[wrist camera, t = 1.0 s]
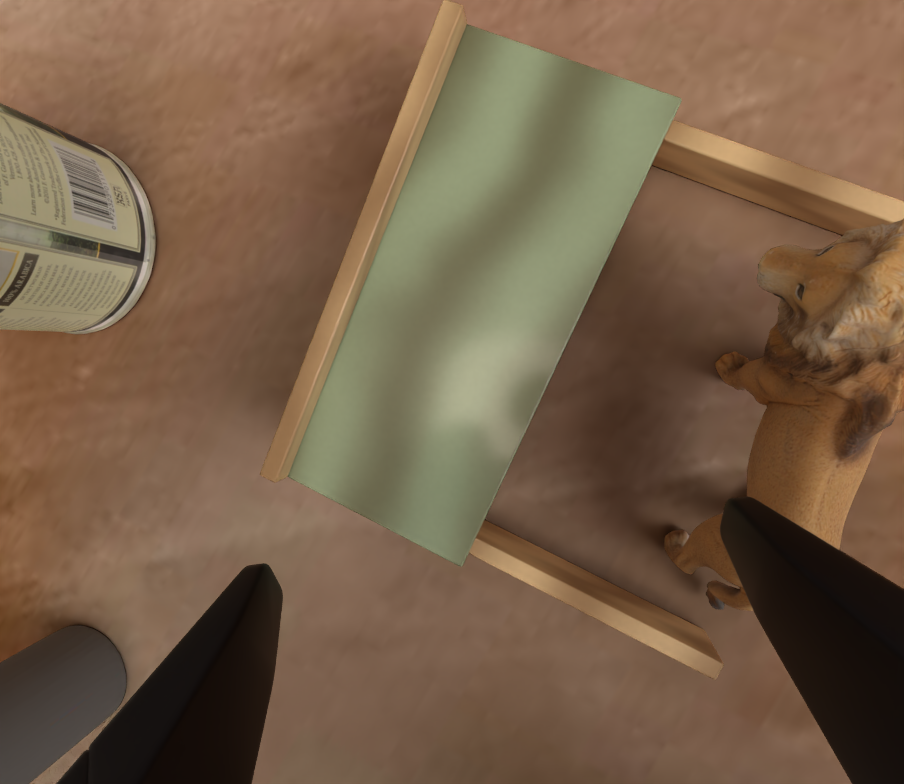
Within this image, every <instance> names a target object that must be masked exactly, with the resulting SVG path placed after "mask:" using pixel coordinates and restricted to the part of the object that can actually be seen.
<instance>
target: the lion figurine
mask: <svg viewBox="0 0 904 784" xmlns="http://www.w3.org/2000/svg"><path fill="white" fill-rule="evenodd" d="M758 269H759V272H758V275H757V282H758V284H759V286H760V287H761V288H763V289H764V290H766V291H768V292H771V293H773V294H774V295H776V296H778V297H780V298H781V301H780V303H779V306H778V310H779V315H778V322H777V324H776V325H775V326H774V327H773V328H772V329H771V330H770V332H769V338H768V341H767V344H766V347H765V353H764V357H762V358H759V359H756V360H753V361H750V362H749V360H748V359H747V357H745V356H742V355H740V354H739V353H737V352H732V353H730V354H725V355H723V356H722V357H721V358H720V359H719V360H718V361H717V362H716V363H715V366H716V369H717V372H718V374H719V375H720V377H721V378H722V379H723V381H724V382H725V383H727V384H728V385H731V386H733V387H734V388H736V389H737V390H745V389H746V390H747V391H749V392H750V393H751V394H752V395H753V396H754V397H755V399H756V401H758V402H759V403H761V404H764V405H767V409H766V411H765V413H764V415H763V417H762V419H761V422H760V424H759V427H758V429H757V432H756V435H755V439H754V443H753V447H752V450H751V453H750V458H749V463H748V470H747V496H749V497H752V498H754V499H756V500H758V501H760V502H761V503H763V504H764V505H766V506H768V507H769V508H771V509H773V510H774V511H776V512H778V513H779V514H781V515H783V516H784V517H786V518H788V519H789V520H791V521H792V522H794V523H796V524H797V525H799V526H801V527H802V528H804V529H806V530H807V531H809V532H811V533H812V534H814V535H816V536H817V537H819V538H821V539H822V540H824V541H825V542H827V543H829V544H830V545H832V546H834V547H835V548H837V549H839V550H840V543H841V536H842V531H843V526H844V522H845V519H846V516H847V513H848V511H849V509H850V506H851V504H852V501H853V499H854V496H855V494H856V492H857V489H858V487H859V485H860V483H861V481H862V478H863V476H864V474H865V471H866V469H867V467H868V464H869V462H870V459H871V457H872V454H873V451H874V448H875V446H876V444H877V442H878V440H879V437H880V435H881V432H882V430H883V429H885V428H886V427H888V426H890V425H891V424H892V422H893V421H894V418H895V416H896V413H898V412H901V411H904V219H902V220H900V221H897V222H894V223H891V224H888V225H885V224H879V225H877V226H870V227H865V228H861V229H854V230H848V231H846V232H845V233H844V235H843V236H842V237H841V238H840V239H839V240H837V241H836V242H834V243H832V244H830V245H829V246H827V247H825V248H823V249H818V250H811V249H805V248H802V247H799V246H796V245H782V246H779V247H775V248H772V249H770V250H769V251H768V252H767V253H766V254H765V255H764V256H763V257H762V258H761V260H760V262H759V264H758ZM722 515H723V514H719V515H716V516H714V517H712V518H710V519H708V520H706V521H704V522H703V523H701V524H700V525H699V526H697V527H696V528H695V530H694V531H693V532H692V533H691V535H690V536H689V535H688V534H687V532H686V531H684V530H679V531H672V532H670V533H668V534H667V535H666V536H665V540H664V547H665V551H666V553H667V554H668V556H669V558H670V559H671V560H672V561H673V562H674V563H675V564H676V566H677V567H678V568H680V569H681V570H682V571H683V572H685V573H687V574H693V573H694V572H695V570H696V569H697V568H699V567H702V566H707V567H710V568H712V569H713V570H715V571H716V572H717V573H718V574H719V575H721V576H722V577H723V578H724V579H726V580H727V581H729V582H730V583H732V584H734V585H737V586H739V587H740V589H737V588H733V587H731V586H727V585H725V584H723V583H721V582H718V581H711V582H709V583H708V584H707V587H708V590H707V592H706V595H707V597H708V599H709V603H710V604H711V606H712V607H713V608H715V609H720V610H721V609H724V603H725V604H727V605H729V606H731V607H733V608H736V609H739V610H747V611H754V610H753V608H752V606H751V604H750V602H749V600H748V597H747V595H746V593H745V591H744V588H743V586H742V584H741V582H740V579H739V577H738V575H737V573H736V570H735V568H734V566H733V564H732V561H731V559H730V557H729V555H728V552H727V550H726V548H725V546H724V543H723V541H722V539H721V535H720V524H721V520H722Z"/></svg>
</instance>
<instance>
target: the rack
mask: <svg viewBox="0 0 904 784" xmlns="http://www.w3.org/2000/svg"><path fill="white" fill-rule="evenodd" d="M680 103H681V98H679V97H676V96H673V95H670V94H667V93H664V92H661V91H658V90H655V89H653V88H650V87H647V86H644V85H641V84H638V83H635V82H632V81H629V80H627V79H624V78H621V77H618V76H615V75H612V74H609V73H606V72H604V71H601V70H598V69H595V68H592V67H589V66H586V65H583V64H580V63H578V62H575V61H572V60H569V59H566V58H563V57H560V56H557V55H554V54H552V53H549V52H546V51H543V50H540V49H537V48H534V47H531V46H528V45H526V44H523V43H520V42H517V41H514V40H511V39H508V38H505V37H502V36H500V35H497V34H494V33H491V32H488V31H485V30H482V29H479V28H476V27H474V26H471V25H468V24H467V21H466V16H465V12H464V8H463V6H462V5H461V4H458V3H455V2H452V1H449V0H443V2H442V4H441V7H440V9H439V12H438V15H437V17H436V20H435V22H434V25H433V28H432V30H431V33H430V35H429V38H428V40H427V43H426V46H425V48H424V51H423V53H422V56H421V59H420V61H419V64H418V66H417V69H416V71H415V74H414V77H413V79H412V82H411V84H410V87H409V90H408V92H407V95H406V97H405V100H404V102H403V105H402V108H401V110H400V113H399V115H398V118H397V121H396V123H395V126H394V128H393V131H392V134H391V136H390V139H389V141H388V144H387V146H386V149H385V152H384V154H383V157H382V159H381V162H380V165H379V167H378V170H377V172H376V175H375V177H374V180H373V183H372V185H371V188H370V190H369V193H368V196H367V198H366V201H365V203H364V206H363V208H362V211H361V214H360V216H359V219H358V221H357V224H356V227H355V229H354V232H353V234H352V237H351V240H350V242H349V245H348V247H347V250H346V252H345V255H344V258H343V260H342V263H341V265H340V268H339V271H338V273H337V276H336V278H335V281H334V283H333V286H332V289H331V291H330V294H329V296H328V299H327V302H326V304H325V307H324V309H323V312H322V315H321V317H320V320H319V322H318V325H317V327H316V330H315V333H314V335H313V338H312V340H311V343H310V346H309V348H308V351H307V353H306V356H305V358H304V361H303V364H302V366H301V369H300V371H299V374H298V377H297V379H296V382H295V384H294V387H293V389H292V392H291V395H290V397H289V400H288V402H287V405H286V408H285V410H284V413H283V415H282V418H281V421H280V423H279V426H278V428H277V431H276V433H275V436H274V439H273V441H272V444H271V446H270V449H269V452H268V454H267V457H266V459H265V462H264V464H263V467H262V470H261V472H260V475H261V476H263V477H265V478H267V479H268V480H270V481H272V482H275V483H276V482H278V481H280V480H282V479H284V478H286V477H289V478H291V479H293V480H295V481H297V482H299V483H301V484H303V485H305V486H306V487H308V488H310V489H312V490H314V491H316V492H318V493H320V494H322V495H324V496H326V497H328V498H329V499H331V500H333V501H335V502H337V503H339V504H341V505H343V506H345V507H347V508H349V509H351V510H353V511H354V512H356V513H358V514H360V515H362V516H364V517H366V518H368V519H370V520H372V521H374V522H376V523H378V524H379V525H381V526H383V527H385V528H387V529H389V530H391V531H393V532H395V533H397V534H399V535H401V536H402V537H404V538H406V539H408V540H410V541H412V542H414V543H416V544H418V545H420V546H422V547H424V548H426V549H427V550H429V551H431V552H433V553H435V554H437V555H439V556H441V557H443V558H445V559H447V560H449V561H451V562H452V563H454V564H456V565H458V566H463V564H464V562H465V560H466V557H467V555H468V553H469V554H471V555H473V556H475V557H477V558H479V559H481V560H483V561H485V562H487V563H489V564H491V565H492V566H494V567H496V568H498V569H500V570H502V571H504V572H506V573H508V574H510V575H512V576H514V577H516V578H518V579H520V580H522V581H524V582H525V583H527V584H529V585H531V586H533V587H535V588H537V589H539V590H541V591H543V592H545V593H547V594H549V595H551V596H553V597H555V598H557V599H558V600H560V601H562V602H564V603H566V604H568V605H570V606H572V607H574V608H576V609H578V610H580V611H582V612H584V613H586V614H588V615H590V616H591V617H593V618H595V619H597V620H599V621H601V622H603V623H605V624H607V625H609V626H611V627H613V628H615V629H617V630H619V631H621V632H623V633H625V634H626V635H628V636H630V637H632V638H634V639H636V640H638V641H640V642H642V643H644V644H646V645H648V646H650V647H652V648H654V649H656V650H658V651H659V652H661V653H663V654H665V655H667V656H669V657H671V658H673V659H675V660H677V661H679V662H681V663H683V664H685V665H687V666H689V667H691V668H692V669H694V670H696V671H698V672H700V673H702V674H704V675H706V676H708V677H710V678H712V679H714V680H715V679H716V678H717V676H718V674H719V672H720V671H721V669H722V667H723V666H724V663H723V662H722V660H721V658H720V656H719V655H718V653H717V651H716V649H715V648H714V646H713V644H712V642H711V641H710V639H709V637H708V635H707V634H706V632H705V630H703V629H701V628H699V627H697V626H695V625H693V624H691V623H689V622H687V621H685V620H683V619H681V618H679V617H677V616H675V615H673V614H671V613H669V612H667V611H665V610H663V609H661V608H659V607H657V606H655V605H653V604H651V603H649V602H647V601H645V600H643V599H641V598H639V597H637V596H635V595H633V594H631V593H629V592H627V591H625V590H623V589H621V588H619V587H617V586H615V585H613V584H611V583H609V582H607V581H605V580H604V579H602V578H600V577H598V576H596V575H594V574H592V573H590V572H588V571H586V570H584V569H582V568H580V567H578V566H576V565H574V564H572V563H570V562H568V561H566V560H564V559H562V558H560V557H558V556H556V555H554V554H552V553H550V552H548V551H546V550H544V549H542V548H540V547H538V546H536V545H534V544H532V543H530V542H528V541H526V540H524V539H522V538H520V537H518V536H516V535H514V534H512V533H510V532H508V531H506V530H504V529H502V528H500V527H498V526H496V525H494V524H492V523H490V522H488V521H486V520H484V519H485V517H486V515H487V513H488V511H489V509H490V507H491V504H492V502H493V500H494V498H495V496H496V494H497V492H498V490H499V487H500V485H501V483H502V481H503V479H504V477H505V475H506V473H507V471H508V468H509V466H510V464H511V462H512V460H513V458H514V456H515V454H516V451H517V449H518V447H519V445H520V443H521V441H522V439H523V437H524V434H525V432H526V430H527V428H528V426H529V424H530V422H531V420H532V417H533V415H534V413H535V411H536V409H537V407H538V405H539V403H540V400H541V398H542V396H543V394H544V392H545V390H546V388H547V386H548V384H549V381H550V379H551V377H552V375H553V373H554V371H555V369H556V367H557V364H558V362H559V360H560V358H561V356H562V354H563V352H564V350H565V347H566V345H567V343H568V341H569V339H570V337H571V335H572V333H573V330H574V328H575V326H576V324H577V322H578V320H579V318H580V316H581V314H582V311H583V309H584V307H585V305H586V303H587V301H588V299H589V297H590V294H591V292H592V290H593V288H594V286H595V284H596V282H597V280H598V277H599V275H600V273H601V271H602V269H603V267H604V265H605V263H606V260H607V258H608V256H609V254H610V252H611V250H612V248H613V246H614V243H615V241H616V239H617V237H618V235H619V233H620V231H621V229H622V227H623V224H624V222H625V220H626V218H627V216H628V214H629V212H630V210H631V207H632V205H633V203H634V201H635V199H636V197H637V195H638V193H639V190H640V188H641V186H642V184H643V182H644V180H645V178H646V176H647V173H648V171H649V169H650V167H651V165H654V166H657V167H659V168H662V169H665V170H667V171H670V172H673V173H676V174H678V175H681V176H684V177H686V178H689V179H692V180H694V181H697V182H700V183H703V184H705V185H708V186H711V187H713V188H716V189H719V190H722V191H724V192H727V193H730V194H732V195H735V196H738V197H741V198H743V199H746V200H749V201H751V202H754V203H757V204H759V205H762V206H765V207H768V208H770V209H773V210H776V211H778V212H781V213H784V214H787V215H789V216H792V217H795V218H797V219H800V220H803V221H806V222H808V223H811V224H814V225H816V226H819V227H822V228H824V229H827V230H830V231H833V232H835V233H838V234H841V235H844V233H845V232H846V231H848V230H854V229H861V228H865V227H870V226H877V225H879V224H885V225H888V224H891V223H894V222H897V221H900V220H902V219H904V201H901V200H898V199H895V198H892V197H890V196H887V195H884V194H881V193H878V192H875V191H873V190H870V189H867V188H864V187H861V186H858V185H856V184H853V183H850V182H847V181H844V180H841V179H839V178H836V177H833V176H830V175H827V174H824V173H822V172H819V171H816V170H813V169H810V168H807V167H805V166H802V165H799V164H796V163H793V162H790V161H788V160H785V159H782V158H779V157H776V156H774V155H771V154H768V153H765V152H762V151H759V150H757V149H754V148H751V147H748V146H745V145H742V144H740V143H737V142H734V141H731V140H728V139H725V138H723V137H720V136H717V135H714V134H711V133H708V132H706V131H703V130H700V129H697V128H694V127H691V126H689V125H686V124H683V123H680V122H677V121H675V120H673V118H674V116H675V114H676V112H677V110H678V108H679V106H680Z"/></svg>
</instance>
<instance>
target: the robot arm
mask: <svg viewBox="0 0 904 784" xmlns="http://www.w3.org/2000/svg"><path fill="white" fill-rule="evenodd" d="M720 535H721V539H722V541H723V543H724V546H725V548H726V550H727V552H728V555H729V557H730V559H731V561H732V564H733V566H734V568H735V570H736V573H737V575H738V577H739V579H740V582H741V584H742V586H743V588H744V591H745V593H746V595H747V597H748V600H749V602H750V604H751V606H752V608H753V610H754V613H755V615H756V617H757V618H758V620H759V622H760V624H761V626H762V628H763V629H764V631H765V633H766V635H767V636H768V638H769V640H770V642H771V643H772V645H773V647H774V649H775V650H776V652H777V654H778V655H779V657H780V659H781V661H782V662H783V664H784V666H785V668H786V669H787V671H788V673H789V675H790V676H791V678H792V680H793V682H794V683H795V685H796V687H797V689H798V690H799V692H800V694H801V696H802V697H803V699H804V701H805V702H806V704H807V706H808V708H809V709H810V711H811V713H812V715H813V716H814V718H815V720H816V722H817V723H818V725H819V727H820V729H821V730H822V732H823V734H824V736H825V737H826V739H827V741H828V743H829V744H830V746H831V748H832V749H833V751H834V753H835V755H836V756H837V758H838V760H839V762H840V763H841V765H842V767H843V769H844V770H845V772H846V774H847V776H848V777H849V779H850V781H851V783H852V784H904V589H903V588H901V587H900V586H898V585H896V584H895V583H893V582H891V581H890V580H888V579H886V578H885V577H883V576H881V575H880V574H878V573H877V572H875V571H873V570H872V569H870V568H868V567H867V566H865V565H863V564H862V563H860V562H858V561H857V560H855V559H853V558H852V557H850V556H849V555H847V554H845V553H844V552H842V551H840V550H839V549H837V548H835V547H834V546H832V545H830V544H829V543H827V542H825V541H824V540H822V539H821V538H819V537H817V536H816V535H814V534H812V533H811V532H809V531H807V530H806V529H804V528H802V527H801V526H799V525H797V524H796V523H794V522H792V521H791V520H789V519H788V518H786V517H784V516H783V515H781V514H779V513H778V512H776V511H774V510H773V509H771V508H769V507H768V506H766V505H764V504H763V503H761V502H760V501H758V500H756V499H754V498H752V497H749V496H745V497H737V498H731V499H728V500H727V501H726V503H725V507H724V511H723V515H722V520H721V524H720ZM282 601H283V594H282V589H281V586H280V584H279V583H278V581H277V579H276V577H275V575H274V573H273V572H272V570H271V568H270V566H269V565H267V564H264V563H263V564H256V565H249V566H246V567H245V568H244V569H243V570H242V571H241V572H240V573H239V574H238V575H237V576H236V577H235V579H234V580H233V581H232V582H231V583H230V584H229V586H228V587H227V588H226V589H225V590H224V591H223V592H222V594H221V595H220V596H219V597H218V598H217V599H216V601H215V602H214V603H213V604H212V605H211V606H210V607H209V609H208V610H207V611H206V612H205V613H204V614H203V615H202V617H201V618H200V619H199V620H198V621H197V622H196V624H195V625H194V626H193V627H192V628H191V629H190V630H189V632H188V633H187V634H186V635H185V636H184V637H183V639H182V640H181V641H180V642H179V643H178V644H177V645H176V647H175V648H174V649H173V650H172V651H171V652H170V654H169V655H168V656H167V657H166V658H165V659H164V660H163V662H162V663H161V664H160V665H159V666H158V667H157V668H156V670H155V671H154V672H153V673H152V674H151V675H150V677H149V678H148V679H147V680H146V681H145V682H144V683H143V685H142V686H141V687H140V688H139V689H138V690H137V692H136V693H135V694H134V695H133V696H132V697H131V698H130V700H129V701H128V702H127V703H126V704H125V705H124V707H123V708H122V709H121V710H120V711H119V712H118V713H117V715H116V716H115V717H114V718H113V719H112V720H111V721H110V723H109V724H108V725H107V726H106V727H105V728H104V730H103V731H102V732H101V733H100V734H99V735H98V736H97V738H96V739H95V740H94V741H93V742H92V743H91V745H90V746H89V750H86V751H84V752H83V754H82V755H81V756H80V757H79V758H78V759H77V760H76V762H75V763H74V764H73V765H72V766H71V767H70V769H69V770H68V771H67V772H66V773H65V774H64V775H63V776H62V778H61V779H60V780H59V781H58V782H57V783H56V784H252V779H253V775H254V770H255V765H256V761H257V756H258V751H259V747H260V742H261V737H262V733H263V728H264V723H265V719H266V714H267V709H268V705H269V700H270V695H271V691H272V685H273V680H274V673H275V666H276V657H277V648H278V638H279V629H280V620H281V611H282Z"/></svg>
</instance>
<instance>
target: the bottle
mask: <svg viewBox="0 0 904 784" xmlns="http://www.w3.org/2000/svg"><path fill="white" fill-rule="evenodd" d="M125 690H126V673H125V668H124V664H123V661H122V659H121V656H120V654H119V653H118V651H117V650H116V648H115V646H114V645H113V644H112V643H111V642H110V641H109V640H108V639H107V638H106V637H105V636H104V635H103V634H101V633H100V632H98V631H96V630H94V629H92V628H89V627H85V626H80V625H77V626H69V627H66V628H63V629H61V630H59V631H57V632H55V633H53V634H51V635H49V636H47V637H45V638H44V639H42V640H40V641H38V642H36V643H35V644H33V645H31V646H29V647H27V648H26V649H24V650H22V651H20V652H18V653H17V654H15V655H13V656H11V657H9V658H8V659H6V660H4V661H2V662H1V663H0V784H29V783H30V782H32V781H33V780H34V779H35V778H36V777H38V776H39V775H40V774H41V773H42V772H44V771H45V770H46V769H47V768H48V767H50V766H51V765H52V764H53V763H54V762H56V761H57V760H58V759H59V758H60V757H62V756H63V755H64V754H65V753H66V752H68V751H69V750H70V749H71V748H72V747H73V746H75V745H76V744H77V743H78V742H79V741H81V740H82V739H83V738H84V737H85V736H87V735H88V734H89V733H90V732H91V731H93V730H94V729H95V728H96V727H97V726H99V725H100V724H101V723H102V722H103V721H104V720H106V719H107V718H108V717H109V716H110V715H111V714H112V713H113V712H114V711H115V710H116V709H117V708H118V707H119V705H120V703H121V702H122V700H123V698H124V694H125Z"/></svg>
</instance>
